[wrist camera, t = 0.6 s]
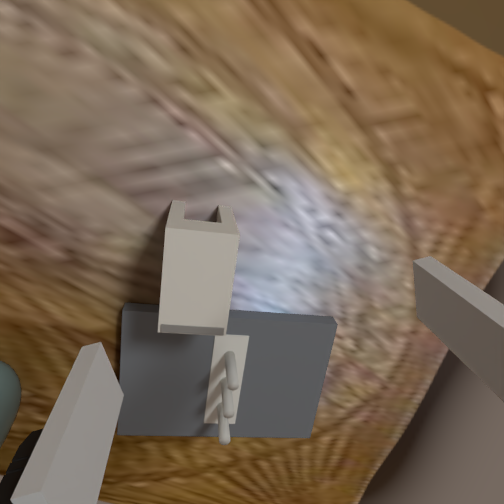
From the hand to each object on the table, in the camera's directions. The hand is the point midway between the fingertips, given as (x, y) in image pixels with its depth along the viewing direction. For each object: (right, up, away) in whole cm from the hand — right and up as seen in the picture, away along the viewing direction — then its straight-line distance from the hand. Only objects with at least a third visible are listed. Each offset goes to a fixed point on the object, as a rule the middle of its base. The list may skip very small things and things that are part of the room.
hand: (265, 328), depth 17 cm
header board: (-3, -9, +24) cm, 26 cm away
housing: (-5, +4, +19) cm, 20 cm away
